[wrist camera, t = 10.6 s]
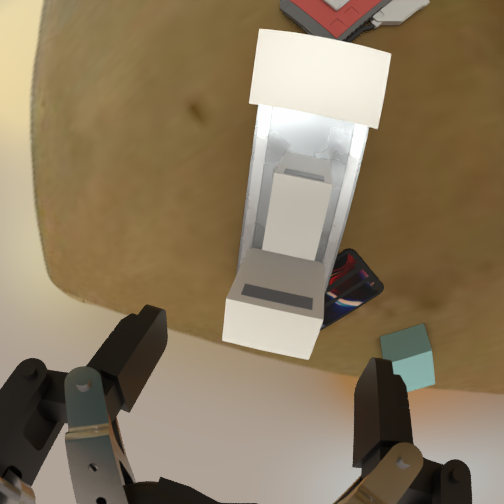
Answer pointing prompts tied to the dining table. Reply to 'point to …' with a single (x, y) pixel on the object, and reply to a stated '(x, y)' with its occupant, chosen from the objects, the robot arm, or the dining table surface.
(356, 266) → the smartphone
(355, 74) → the block
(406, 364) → the block
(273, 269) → the module
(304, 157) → the block
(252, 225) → the grey rectangular tray
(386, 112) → the dining table surface
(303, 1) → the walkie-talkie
